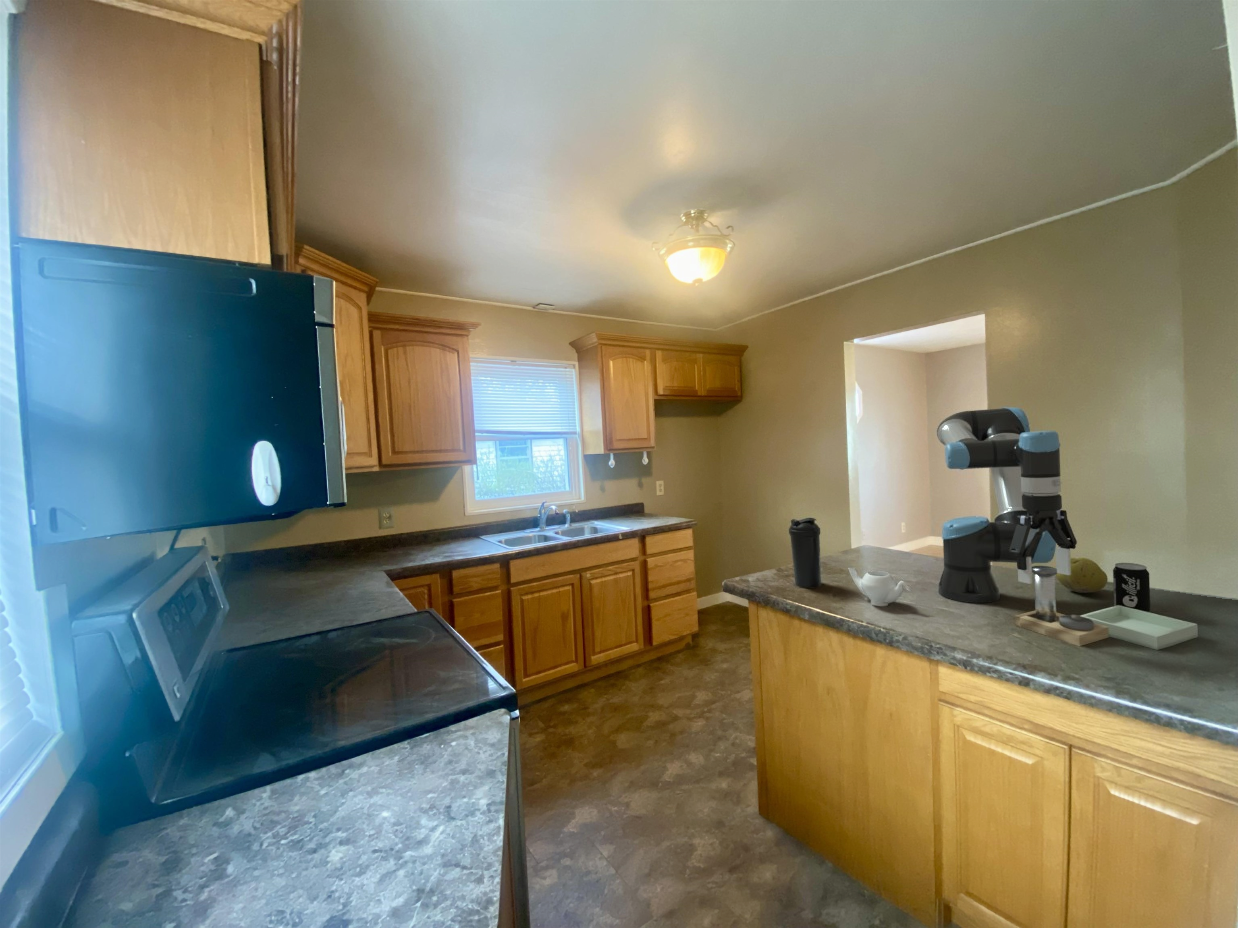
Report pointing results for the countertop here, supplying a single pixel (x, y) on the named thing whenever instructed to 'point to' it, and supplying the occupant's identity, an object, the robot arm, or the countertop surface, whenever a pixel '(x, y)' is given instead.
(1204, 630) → the countertop surface
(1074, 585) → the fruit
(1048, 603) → the pin
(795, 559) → the water bottle
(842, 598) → the countertop surface
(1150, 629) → the tray
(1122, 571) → the beverage can
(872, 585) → the teapot
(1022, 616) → the block
